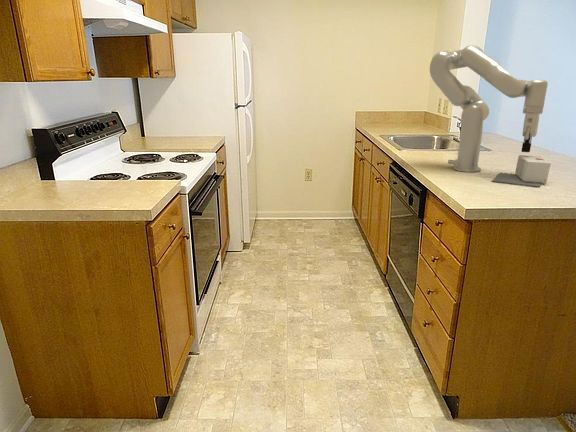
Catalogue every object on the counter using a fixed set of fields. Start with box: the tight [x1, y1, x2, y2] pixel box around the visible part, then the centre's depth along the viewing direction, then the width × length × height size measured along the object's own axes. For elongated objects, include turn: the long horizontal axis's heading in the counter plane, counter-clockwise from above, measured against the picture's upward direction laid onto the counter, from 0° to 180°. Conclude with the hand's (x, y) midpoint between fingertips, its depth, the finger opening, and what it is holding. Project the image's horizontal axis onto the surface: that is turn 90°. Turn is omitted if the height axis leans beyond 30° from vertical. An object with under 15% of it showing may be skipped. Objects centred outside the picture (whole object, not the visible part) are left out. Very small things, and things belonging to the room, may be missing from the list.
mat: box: [491, 172, 542, 188], centre depth 181 cm, size 18×19×1 cm
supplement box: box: [514, 154, 552, 184], centre depth 180 cm, size 9×9×15 cm
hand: (525, 151), depth 185 cm, fingers closed
